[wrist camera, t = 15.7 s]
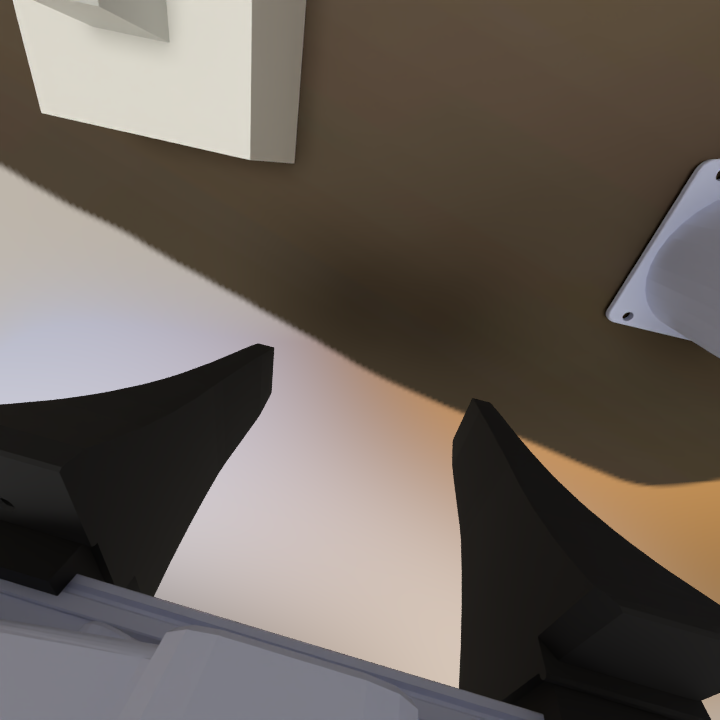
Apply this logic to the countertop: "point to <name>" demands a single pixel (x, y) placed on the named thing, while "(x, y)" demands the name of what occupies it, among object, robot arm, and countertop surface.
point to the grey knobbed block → (173, 69)
